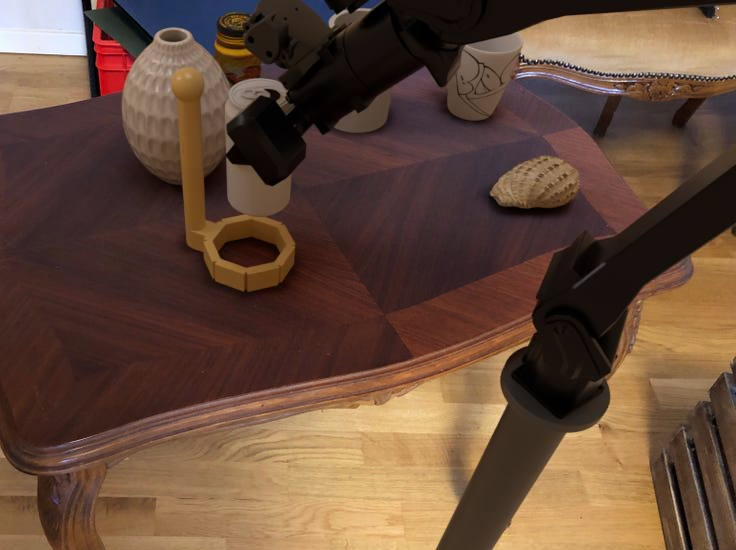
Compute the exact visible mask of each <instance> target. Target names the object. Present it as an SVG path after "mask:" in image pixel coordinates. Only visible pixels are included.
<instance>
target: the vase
mask: <svg viewBox="0 0 736 550" xmlns="http://www.w3.org/2000/svg"><path fill="white" fill-rule="evenodd" d="M185 67H189V68H193V69H195V70H197V71H198V72H199V73H200V74H201V76H202V77H203V80H204V91H203V94H202V96H201V121H202V145H203V170H204V179H205V178H206V177H207V176H209V175H210V174H211V173H212V172H213V171H214V170H216V168H217V167H218V166H219V164H220V163H221V162H222V160H223V159H224V157H225V156H226V132H225V104H226V102H227V100H228V98H229V91H230V89H231V88H230V85H229V82H228V80H227V78H226V76H225V74H224V72H223V70H222V69H221V67H220V65H219V64H218V62H217V61H216V60H215V59H214V56H213V55H212V54H211V53H210V52H209V51H208V50H207V49H206V48H205V47H204V46H203V45H201V44H199V42H197V41H196V40H195V39H194V36H193V34H192V33H191V31H190V30H188V29H186V28H181V27H167V28H163V29H161V30H159V31H157V32H155V34H154V37H153V40H152V42H151V43H150V44H149V45H148V46H146V47H145V48H144V49H143V50H142V51H141V53H140V54H139V55H138V56H137V57H136V59H135V61H134V62H133V63H132V65H131V67H130V69H129V71H128V74H127V76H126V78H125V82H124V84H123V89H122V95H121V119H122V125H123V130H124V134H125V137H126V139H127V142H128V144H129V147H130V149H131V151H132V152H133V154H134V155H135V156H136V158H137V160H138V161H139V162H140V163H141V164H142V165H143V167H144V168H145V169H146V170H147V171H149V172H150V173H151V174H152V175H154V176H155V177H157V178H158V179H159V180H161V181H163V182H165V183H167V184H170V185H174V186H183V184H182V169H181V155H180V140H179V126H178V111H177V98H176V96H175V95H174V93H173V91H172V87H171V82H172V78H173V76H174V74H175V73H176V72H177V71H178V70H179V69H182V68H185Z"/></svg>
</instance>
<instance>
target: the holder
mask: <svg viewBox="0 0 736 550" xmlns="http://www.w3.org/2000/svg"><path fill="white" fill-rule="evenodd" d="M171 87H172V91H173V93H174V95H175V96H176V98H177V111H178V126H179V140H180V155H181V169H182V184H183V185H182V195H183V197H182V198H183V211H184V212H183V213H184V226H185V239H186V245H187V246H188V247H189V248H191V249H193V250H196V251H199V252H201V253H203V260H204V262H205V265H206V267H207V269H208V271H209V273H210V276H211V278H212V280H214V281H215V282H216V283H219V284H221V285H224V286H227V287H230V288H233V289H234V290H238V291H241V292H245V291H246V292H247V293H250V292H254V291H258V290H262V289H267V288H273V287H276V286H278V285H279V284H281V283H282V282H283V281H284V279H285V278H286V276H287V275H288V273H289V272H290V271H291V269H292V267H293V266H294V265H295V256H296V242H295V240H294V239H293V237H292V235H291V234H290V232H289V230H288V228H287V227H286V224H283V222H281V221H278V220H275V219H272V218H270V217H267V216H266V217H253V216H248V215H245V214H240V215H236V216H231V217H226V218H221V220H219V221H217V222H214V221H210V220H208V219H207V218H206V201H205V200H206V197H205V194H206V193H205V178H204V170H203V145H202V121H201V96H202V94H203V91H204V80H203V77H202V76H201V74H200V73H199V72H198V71H197V70H195V69H193V68H189V67H185V68H182V69H179V70H178V71H177V72H176V73H175V74H174V76H173V78H172V82H171ZM246 238H254V239H257V240H260V241H263V242H266V243H268V244H269V243H270V244H273V245H275V246H276V248H277V250H278V252H279V255H278V256H277V257H276V259H275V260H274V261H272V262H268V263H267V262H266V263H264V264H263V263H262V264H259V265H253V266H249V267H245V266H243V265H239V264H237V263H234V262H232V261H231V262H230V261H228V260H226V259H223V258H221V256H220V254H219V251H220V250H221V248H222V247H224V245H225V244H226V243H227V242H232V241H237V240H242V239H246Z"/></svg>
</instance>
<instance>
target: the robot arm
mask: <svg viewBox="0 0 736 550" xmlns="http://www.w3.org/2000/svg"><path fill="white" fill-rule="evenodd" d="M323 1H324V2H325V4H326V6H327V7H328V9H329V10H330V11H333V12H334V14H336V15H338V14H339V13H340V12H342V11H343V10H348V12H349V14H352V13H353V12H355V11H356V10H357V9H359V8H362V7H363V6H364V5H365V4H367V3H368V2H369V1H370V0H323ZM735 5H736V0H381V1H380V2H379V3H378V4H376V5H374V7H371V8H370V9H371V10H370V11H368V12H367V13H366V14H364V15H363V16H362V17H360V18H359V19H358V20H356V21H355V22H354V23H352V22H350V23H349V24H348V25H346V23H345V22H344V23H343V24H341V25H340V26H337V25H334V26H333V27H332V28H330V27H329V26H328V25H329V24H327V23H326V22H325V21H324V20H323V17H322V16H321V15H320V14H319V13H318V12H316V11H315V10H314V9H312V8H311V6H309V5H307V4H306V3H305V2H304V1H303V0H259V1H258V2H257V4H256V7H255V9H254V11H253V12H252V14H251V15H252V16H251V18H250V19H248V20H247V21H246V22H245V23H244V24H243V25H242V29H243V31H244V32H245V33H244V35H243V38H244V44H245V47H246V49H247V50H248V51H249V52H251V53H252V54H253V55H254V56H255V57H257V58H258V59H259V60H260V61H261V63H263V64H264V65H266V66H267V65H273V64H274V65H276V66H277V67H278V68H280V69H283V70H285V71H284V72H283V73H282V74H280V76H278V77H277V79H278V82H280V83H281V84H282V85H283V86H284V88H285V89H286V90H288V91H287V92H286V93H285V94H284V98H285V99H286V101H287V102H288V103H289V104H290V105H291V104H292V103H293V104H294V105H293V106H292V107H291V108H290V109H289V110H288V111H287V112H286V113H284V112H283V110H282V109H281V107H280V106H279V105H278V103H277V102H276V100H275V99H273V98H269V97H266V96H263V95H260V96H258V97H257V98H256V99H254V100H253V101H252V102H251V103H249V104H248V105H247V106H246V107H245V108H243V109H242V110H241V111H240V112H239V113H238V114H237V115H236V116H235V117H234V118H233V119H231V120H230V121H229V122H228V123H227V124H226V130H227V135H228V136H229V137H230V139H231V140H232V141H233V142H234V145H233V146H232V147H231V149H230V150H229V151H228V152H227V154H226V153H225V158H226V157H227V159H228V160H229V161H230V162H231V164H234V165H249V166H252V168H253V169H254V170H255V172H256V173H257V174H258V176H259V177H260V178H261V180H262V181H263V182H264V184H265V185H269V186H272V187H273V186H274V185H276V184H278V183H280V182H281V181H283V180H285V179H286V178H288V177H289V175H290V174H291V175H292V173H293V172H295V170H296V169H297V168H298V167H299V165H300V164H301V163H302V162H303V161H304V160H305V159H306V157H307V145H308V144H307V142H306V141H305V139H304V138H303V136H304V135H305V134H306V133H307V132H308V131H309V129H311V127H312V126H313V125H314V126H315V127H316V129H317V130H318V131H319V133H320V134H321V136H325V135H326V134H327V133H329V132H331V131H332V130H333V129H335V128H334V126H335V125H336V124H337V123H338V122H339V121H340V120H341V119H342V118H343V117H345V116H346V115H348V114H350V113H351V112H353V111H354V110H356V112H357V113H360V112H362V111H363V110H365V109H367V108H368V107H369V105H370V104H371V103H372V102H373V101H374V100H375V98H376V97H377V96H378V95H380V94H382V93H383V92H385V91H386V90H388V89H390V88H391V87H393V88H394V86H396V85H397V84H399V83H401V82H403V81H404V80H405V79H407V78H409V77H410V76H412V75H414V74H415V73H417V72H418V71H420V70H422V69H423V68H425V67H426V69H427V71H428V72H429V74H431V75H432V77H433V79H434V80H435V82H436V83H437V85H438V86H439V87H445V86H446V85H447V83H448V82H449V81H450V79H451V78H452V77H453V75H454V74H455V73H456V71H457V70H458V69H459V67H460V65H461V57H462V51H463V49H464V47H465V46H466V45H469V44H473V43H477V42H482V41H486V40H490V39H494V38H499V37H503V36H507V35H511V34H514V33H516V32H517V33H519V32H521V31H524V30H526V29H528V28H531V27H534V26H536V25H539V24H542V23H544V22H547V21H550V20H554V19H559V18H563V17H570V16H571V17H572V16H583V15H584V16H585V15H599V14H600V15H601V14H613V13H614V14H616V13H628V12H629V13H630V12H645V11H646V12H647V11H661V10H676V9H689V8H690V9H691V8H706V7H719V6H735ZM735 226H736V142H735V143H733V144H731V146H729V147H728V148H726V149H725V150H724V151H723V152H722V153H721V154H719V155H718V156H717V157H715V158H714V159H713V160H712V161H710V162H709V163H707V164H706V165H705V166H703V168H701V169H700V170H699V171H697V172H696V173H694V174H693V175H692V176H691V177H690V178H688V179H687V180H685V182H683V183H682V184H681V185H679V186H678V187H676V189H674V190H673V191H672V192H670V193H669V194H668V195H666V196H665V197H664V198H663V199H661V200H660V201H659V202H658V203H656V204H655V205H654V206H653V207H651V208H650V209H648V210H647V211H646V212H644V213H643V214H642V215H641V216H639V217H638V218H636V220H635V221H633V222H632V223H631V224H629V225H628V226H627V227H626V228H624V229H623V230H622V231H620V232H619V233H617V234H616V235H614V236H610V237H606V238H600V239H595V238H594V237H593V235H592V234H591V233H590V232H589V231H588V230H587V229H585V230H583V231H582V232H581V233H579V235H578V236H577V237H576V239H575V240H573V242H572V243H571V244H570V245H568V246H566V247H565V248H564V249H561V250H559V251H556V252H554V253H553V255H552V258H551V260H550V262H549V265H548V267H547V268H546V272H545V274H544V276H543V279H542V281H541V283H540V286H539V288H538V290H537V293H536V295H535V300H537V301H536V303H535V306H534V308H533V310H532V313H531V316H530V317H531V319H532V325H533V327H534V328H535V330H536V332H534V333H533V334H532V336H531V338H530V340H529V342H528V345H526V346H527V349H526V351H525V353H524V355H523V357H522V362H523V363H524V364H523V365H521V366H520V367H518V368H516V369H515V370H513V371H512V373H511V377H512V378H513V379H514V380H515V381H516V382H517V383H518V384H519V385H520V386H522V387H523V388H524V389H525V390H526V391H527V392H528V393H529V394H531V395H532V396H533V397H534V398H535V399H536V400H537V401H538V402H539V403H541V404H542V405H543V406H544V407H545V408H546V409H547V410H548V411H550V412H551V413H552V414H553V415H554V416H555V417H557V418H559V419H563V418H565V417H566V416H568V415H569V414H571V413H572V412H574V411H575V410H577V409H578V408H580V407H581V406H583V405H584V404H586V403H587V402H589V401H590V400H592V399H593V398H595V397H597V396H598V395H600V394H601V393H602V392H603V391H604V386H603V385H602V384H601V383H602V381H603V380H604V378H605V379H606V377H607V376H608V375H610V374H611V373H612V370H613V366H614V364H615V362H616V361H617V359H618V358H619V356H618V354H617V353H618V350H619V346H620V342H621V341H622V337H623V333H624V331H625V330H624V329H625V326H626V322H627V319H628V316H629V313H630V308H629V307H630V305H631V304H632V303H633V301H634V300H635V299H636V298H637V297H638V295H639V294H640V292H641V291H642V290H643V289H644V288H645V287H646V286H647V285H649V284H650V283H651V282H653V281H655V280H656V279H657V278H659V277H660V276H662V275H663V274H664V273H666V272H668V271H669V270H671V269H672V268H673V267H675V266H677V265H678V264H680V263H681V262H683V261H684V260H686V259H687V258H689V257H690V256H692V255H693V254H694V253H696V252H698V251H699V250H700V249H702V248H703V247H705V246H706V245H708V244H709V243H710V242H712V241H714V240H715V239H717V238H718V237H720V236H721V235H723V234H724V233H726V232H727V231H729V230H730V229H731V228H733V227H735ZM515 374H517V375H518V376H517V375H515ZM598 388H599V389H598ZM558 412H559V413H561V414H559V413H558Z"/></svg>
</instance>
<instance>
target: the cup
mask: <svg viewBox="0 0 736 550" xmlns="http://www.w3.org/2000/svg"><path fill="white" fill-rule="evenodd" d="M371 9H372V8H365V7H360V8H359V9H357V10H356V11H355V12H353V13H352V14H349V12H348V10H347V9H345V10H343V11H342V12H340V13H339V14H338V15H336V14H335V13H334V14H333V15H332V16H331V17H330V18H329V20H328V24H327V25H328V26H329V27H330V28H332V27H333V26H334V25H337V26H340V25H341V24H343V23H344V22H345V23H346V25H348V24H349V23H350V22H352V23H354V22H355V21H356V20H358V19H359V18H360V17H362V16H363V15H364V14H366V13H367V12H368V11H370V10H371ZM393 88H394V86H393V87H391V88H390V89H388V90H386V91H385V92H383V93H382V94H380V95H378V96H377V97H376V98H375V100H374V101H373V102H372V103H371V104H370V105H369V107H368V108H367V109H365V110H363V111H362V112H360V113H357V112H356V110H354V111H353V112H351V113H350V114H348V115H346V116H345V117H343V118H342V119H341V120H340V121H339V122H338V123H337V124H336V125H335V126H334V128H333V129H336V130H339V131H342V132H345V133H346V132H347V133H353V134H354V133H355V134H361V133H371V132H374V131H376V130H378V129H381V128H382V127H383V126H384V125H385V124H386V122H387V121H388V115H389V111H390V105H391V100H392V94H393V90H394V89H393Z"/></svg>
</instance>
